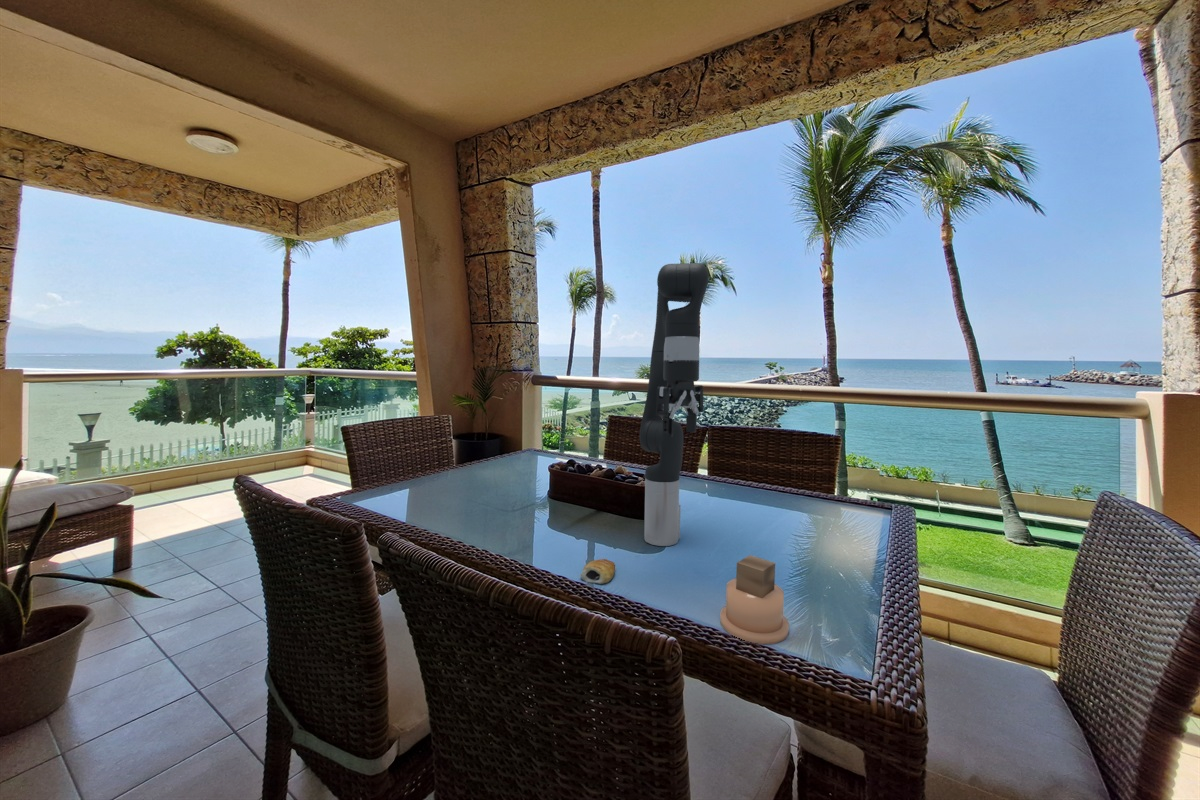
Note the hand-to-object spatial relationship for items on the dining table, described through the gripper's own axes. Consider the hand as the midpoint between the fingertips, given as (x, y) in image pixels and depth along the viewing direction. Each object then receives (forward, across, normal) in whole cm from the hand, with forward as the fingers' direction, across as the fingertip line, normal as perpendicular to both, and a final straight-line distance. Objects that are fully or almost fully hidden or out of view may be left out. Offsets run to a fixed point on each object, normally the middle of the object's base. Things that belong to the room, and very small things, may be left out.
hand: (680, 434), depth 102 cm
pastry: (+34, +10, -14) cm, 38 cm away
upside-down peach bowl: (+33, +4, +20) cm, 39 cm away
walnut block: (+26, +4, +20) cm, 33 cm away
